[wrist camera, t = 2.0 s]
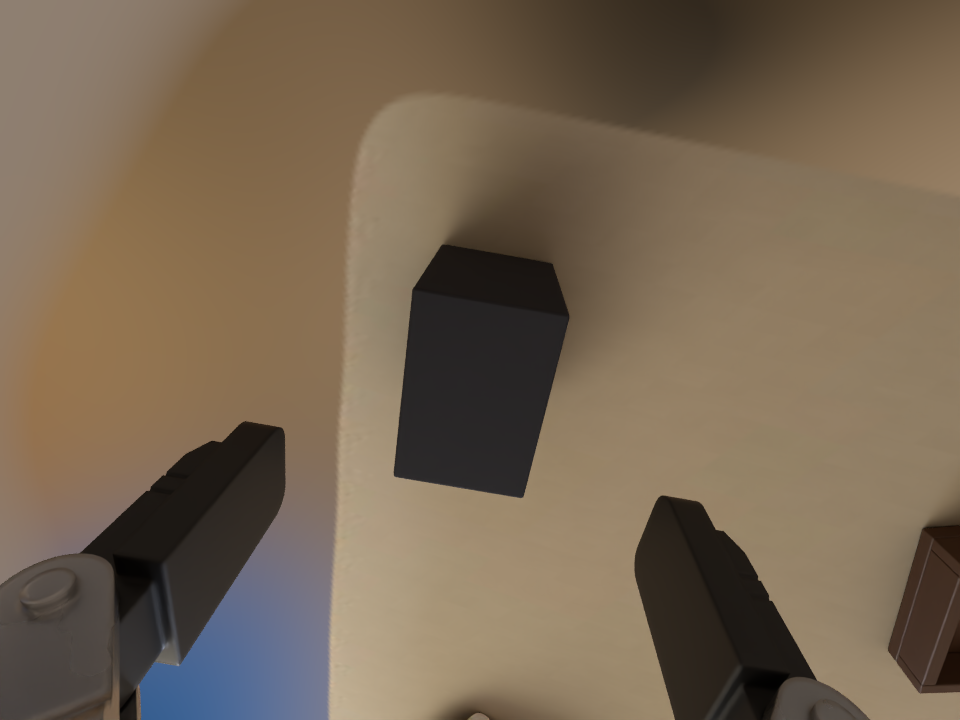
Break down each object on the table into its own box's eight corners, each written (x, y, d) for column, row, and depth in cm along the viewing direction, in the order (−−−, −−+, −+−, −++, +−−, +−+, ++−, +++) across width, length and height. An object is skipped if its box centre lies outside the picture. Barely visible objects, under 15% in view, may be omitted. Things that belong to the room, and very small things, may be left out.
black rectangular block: (423, 390, 19) (392, 478, 14) (441, 243, 17) (412, 287, 12) (520, 407, 19) (523, 499, 14) (553, 263, 17) (570, 315, 12)
